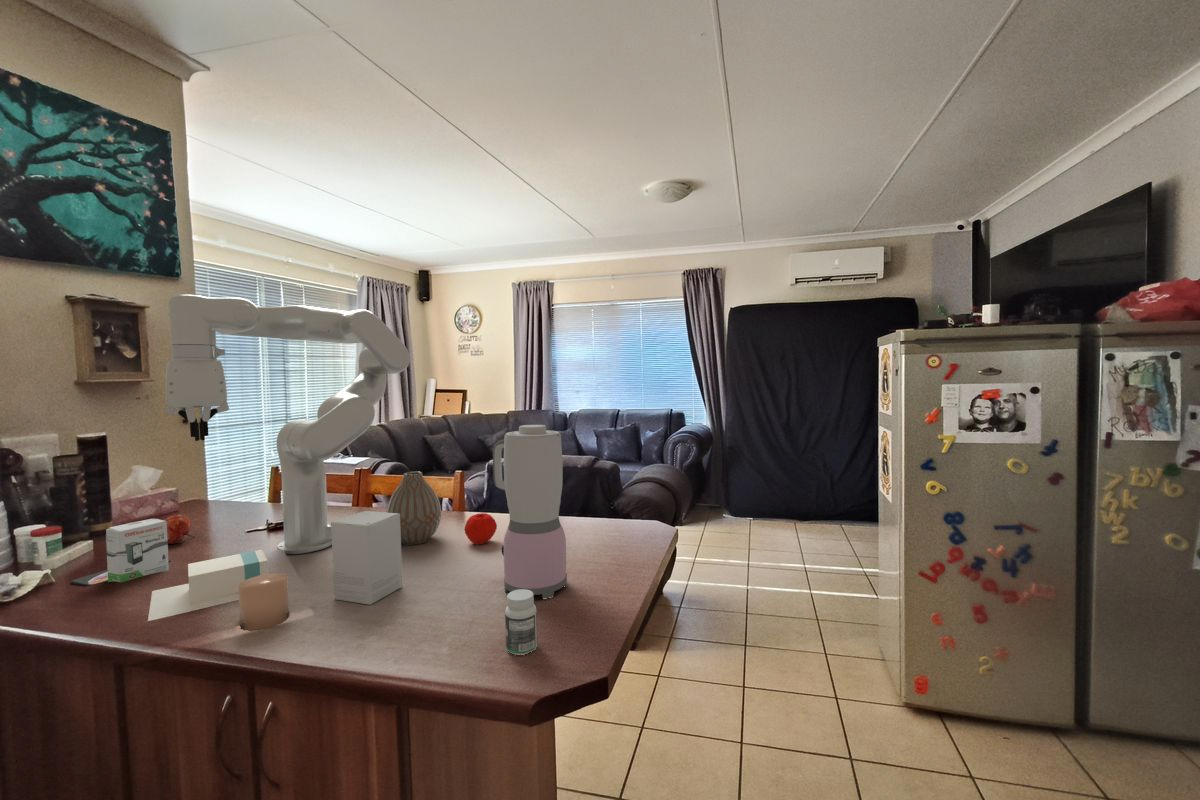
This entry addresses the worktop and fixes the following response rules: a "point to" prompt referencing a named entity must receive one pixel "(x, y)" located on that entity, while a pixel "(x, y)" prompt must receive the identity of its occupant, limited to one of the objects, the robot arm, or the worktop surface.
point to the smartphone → (93, 579)
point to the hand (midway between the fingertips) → (199, 439)
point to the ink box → (136, 549)
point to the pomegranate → (177, 528)
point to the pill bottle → (521, 622)
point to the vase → (415, 508)
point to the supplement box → (366, 556)
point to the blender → (532, 509)
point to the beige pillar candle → (263, 601)
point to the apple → (480, 528)
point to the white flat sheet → (180, 602)
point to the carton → (224, 574)
